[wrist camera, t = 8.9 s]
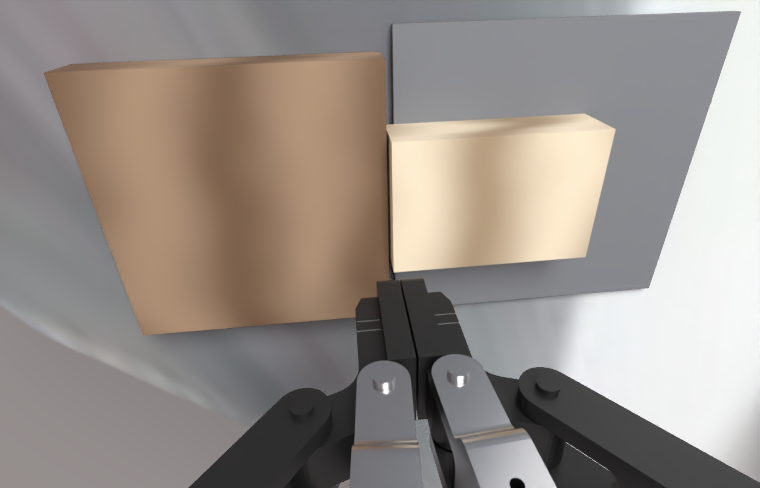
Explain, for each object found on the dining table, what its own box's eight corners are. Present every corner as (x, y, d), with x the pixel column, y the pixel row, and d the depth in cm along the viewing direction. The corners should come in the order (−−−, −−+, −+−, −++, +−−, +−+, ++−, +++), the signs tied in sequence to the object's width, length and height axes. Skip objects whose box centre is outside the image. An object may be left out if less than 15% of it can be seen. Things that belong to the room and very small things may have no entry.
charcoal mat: (733, 11, 19) (741, 11, 19) (644, 284, 26) (648, 288, 26) (391, 23, 18) (392, 24, 18) (394, 304, 25) (395, 309, 25)
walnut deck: (379, 51, 18) (385, 58, 17) (385, 290, 24) (389, 314, 23) (71, 64, 17) (43, 73, 16) (156, 309, 23) (143, 335, 22)
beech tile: (584, 113, 20) (615, 129, 18) (561, 231, 23) (585, 257, 21) (384, 124, 19) (391, 142, 17) (387, 244, 22) (393, 272, 20)
